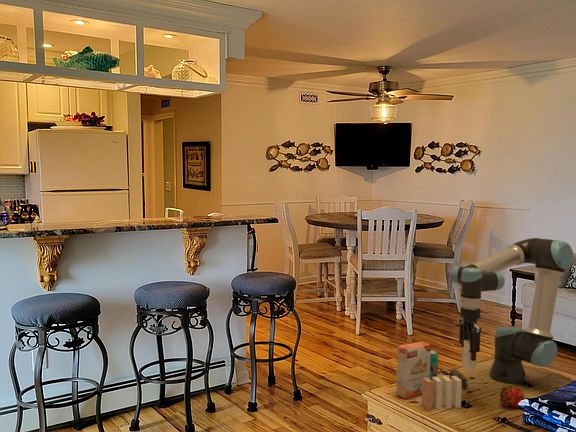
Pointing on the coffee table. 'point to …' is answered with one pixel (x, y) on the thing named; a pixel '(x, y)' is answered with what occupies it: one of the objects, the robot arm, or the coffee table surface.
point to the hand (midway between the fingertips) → (468, 365)
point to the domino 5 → (466, 355)
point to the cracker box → (412, 368)
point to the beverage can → (433, 364)
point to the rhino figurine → (460, 376)
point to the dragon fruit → (511, 396)
